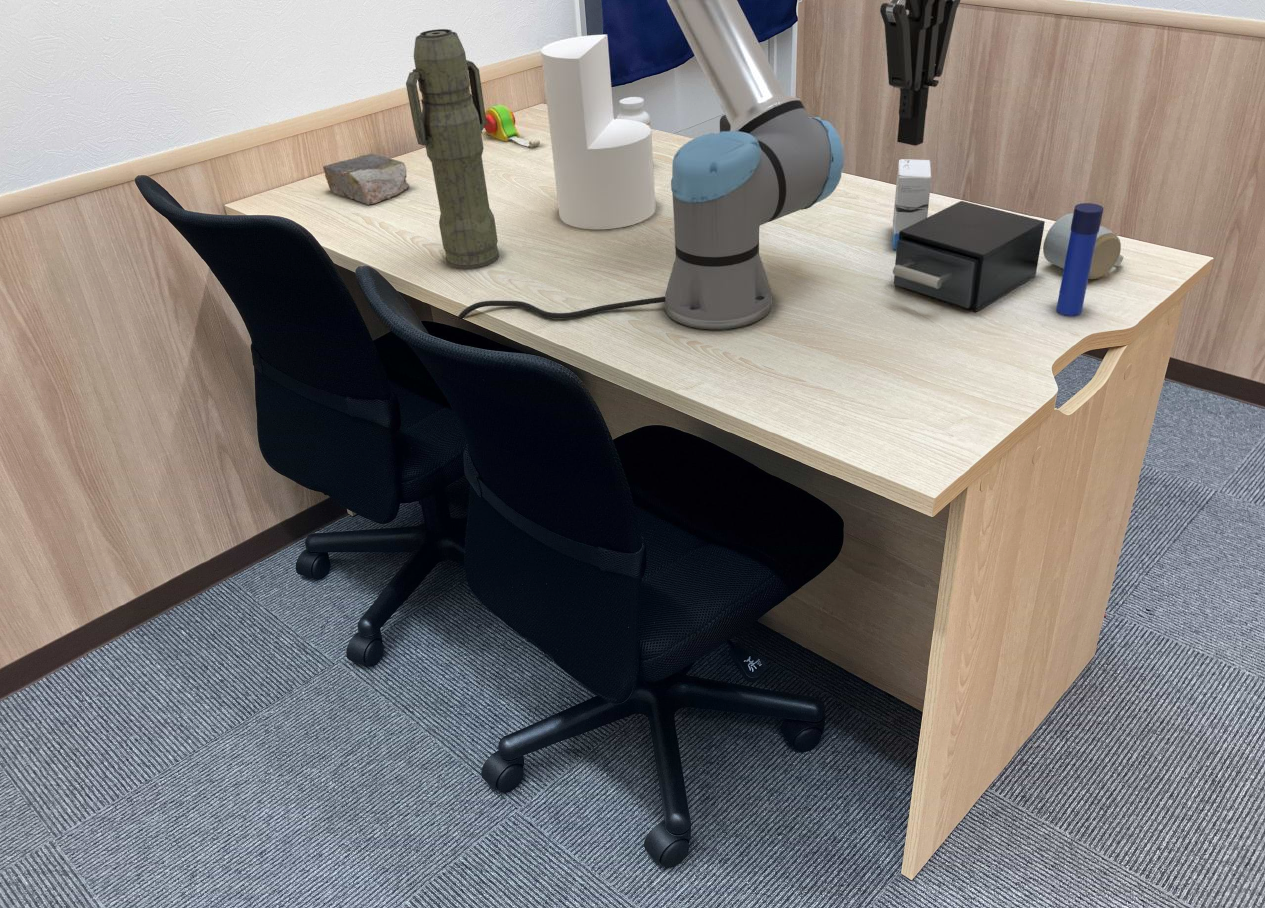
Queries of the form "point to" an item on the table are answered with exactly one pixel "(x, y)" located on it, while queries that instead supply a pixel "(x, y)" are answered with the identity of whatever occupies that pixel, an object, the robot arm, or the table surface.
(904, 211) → the ink box
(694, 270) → the robot arm
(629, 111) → the supplement bottle
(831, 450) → the table surface
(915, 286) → the drawer
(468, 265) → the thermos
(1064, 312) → the marker
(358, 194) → the geological specimen
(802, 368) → the table surface
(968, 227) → the drawer unit
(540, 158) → the table surface
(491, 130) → the toy measuring tape
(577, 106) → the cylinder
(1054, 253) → the ceramic mug
